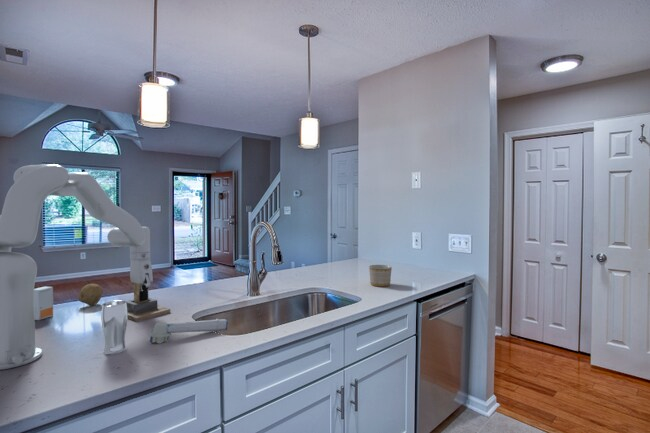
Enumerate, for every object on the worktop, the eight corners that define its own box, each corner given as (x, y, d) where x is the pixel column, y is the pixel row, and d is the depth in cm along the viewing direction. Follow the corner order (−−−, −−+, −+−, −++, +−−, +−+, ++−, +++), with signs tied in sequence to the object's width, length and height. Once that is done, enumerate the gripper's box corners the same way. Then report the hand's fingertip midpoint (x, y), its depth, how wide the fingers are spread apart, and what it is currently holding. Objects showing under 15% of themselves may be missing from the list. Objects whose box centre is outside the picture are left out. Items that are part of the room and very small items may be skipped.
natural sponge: (78, 310, 147) (77, 287, 147) (78, 305, 155) (77, 283, 154) (103, 306, 153) (103, 284, 152) (102, 301, 160) (101, 280, 160)
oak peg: (148, 304, 145) (148, 280, 144) (138, 306, 141) (138, 282, 141) (143, 302, 147) (143, 279, 147) (134, 304, 144) (133, 281, 143)
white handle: (229, 320, 123) (152, 323, 111) (226, 339, 123) (149, 344, 111) (225, 316, 128) (151, 318, 115) (223, 334, 128) (148, 338, 115)
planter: (366, 286, 191) (367, 267, 190) (371, 281, 203) (371, 264, 202) (389, 288, 187) (390, 269, 186) (392, 283, 198) (393, 265, 198)
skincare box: (39, 320, 134) (38, 290, 134) (30, 319, 135) (29, 289, 135) (54, 315, 140) (53, 286, 140) (45, 315, 141) (44, 286, 141)
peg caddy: (170, 312, 144) (170, 300, 144) (136, 321, 133) (136, 309, 133) (145, 304, 156) (145, 293, 156) (112, 312, 144) (112, 300, 144)
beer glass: (123, 344, 112) (122, 298, 111) (132, 349, 107) (131, 302, 107) (98, 351, 107) (97, 303, 106) (107, 357, 102) (105, 307, 102)
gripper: (159, 256, 142) (160, 300, 142) (139, 253, 151) (139, 294, 152) (141, 259, 136) (142, 305, 136) (121, 255, 145) (121, 298, 146)
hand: (141, 299), depth 144 cm, fingers closed on oak peg, 3 cm apart
